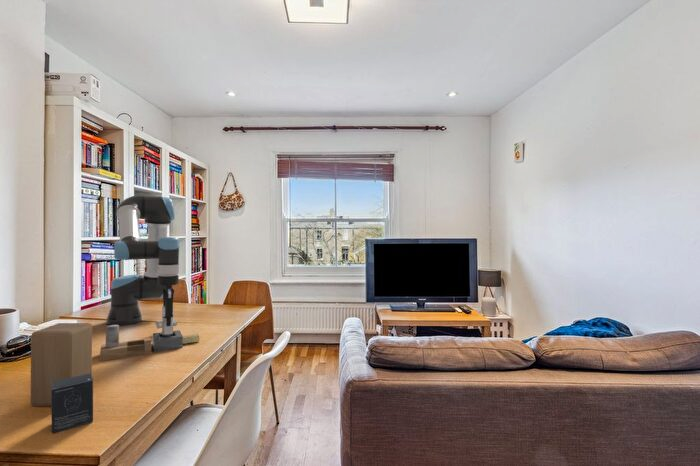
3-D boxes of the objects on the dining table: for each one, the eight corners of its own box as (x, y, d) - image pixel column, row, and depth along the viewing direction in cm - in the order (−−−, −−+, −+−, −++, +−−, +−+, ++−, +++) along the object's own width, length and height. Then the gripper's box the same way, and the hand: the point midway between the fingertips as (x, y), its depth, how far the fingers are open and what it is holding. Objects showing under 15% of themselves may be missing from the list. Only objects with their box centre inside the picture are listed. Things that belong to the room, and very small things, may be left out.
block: (56, 390, 101) (57, 322, 101) (93, 389, 102) (93, 322, 102) (28, 407, 91) (29, 332, 91) (68, 406, 92) (69, 332, 92)
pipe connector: (167, 338, 150) (168, 315, 150) (148, 337, 152) (148, 314, 152) (183, 332, 160) (183, 310, 160) (164, 330, 162) (164, 309, 162)
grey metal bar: (161, 345, 142) (161, 306, 142) (172, 343, 144) (172, 305, 144) (162, 348, 138) (162, 308, 138) (173, 346, 141) (173, 307, 140)
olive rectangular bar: (177, 342, 144) (177, 336, 144) (198, 339, 149) (198, 333, 149) (178, 344, 142) (178, 338, 142) (199, 341, 146) (199, 335, 146)
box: (91, 413, 89) (92, 372, 89) (93, 422, 85) (93, 379, 85) (51, 423, 84) (52, 380, 84) (51, 434, 80) (51, 388, 80)
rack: (101, 353, 131) (101, 324, 131) (150, 346, 140) (150, 319, 139) (100, 360, 124) (100, 330, 124) (151, 353, 133) (151, 324, 133)
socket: (152, 344, 143) (152, 333, 143) (179, 340, 148) (179, 330, 148) (154, 351, 134) (154, 340, 134) (182, 347, 140) (182, 336, 140)
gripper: (156, 273, 146) (155, 328, 146) (159, 278, 132) (158, 339, 132) (176, 272, 150) (175, 325, 150) (181, 276, 136) (180, 336, 136)
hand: (167, 332), depth 141 cm, fingers closed on grey metal bar, 4 cm apart
